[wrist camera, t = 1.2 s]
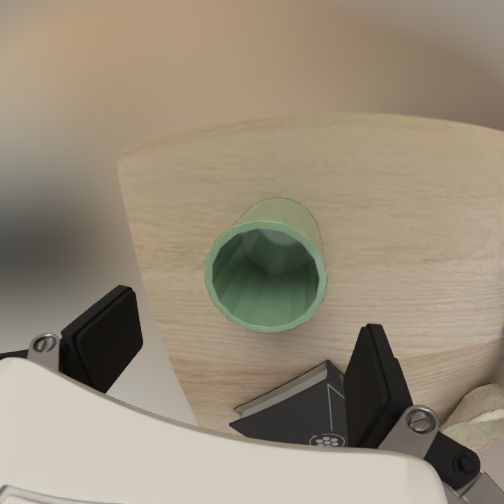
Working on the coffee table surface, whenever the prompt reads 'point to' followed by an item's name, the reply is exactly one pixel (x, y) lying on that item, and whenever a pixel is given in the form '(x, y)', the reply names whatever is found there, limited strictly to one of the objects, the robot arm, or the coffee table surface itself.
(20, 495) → the robot arm
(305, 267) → the green cup
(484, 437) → the bowl
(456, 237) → the coffee table surface
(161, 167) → the coffee table surface
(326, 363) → the book
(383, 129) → the coffee table surface
